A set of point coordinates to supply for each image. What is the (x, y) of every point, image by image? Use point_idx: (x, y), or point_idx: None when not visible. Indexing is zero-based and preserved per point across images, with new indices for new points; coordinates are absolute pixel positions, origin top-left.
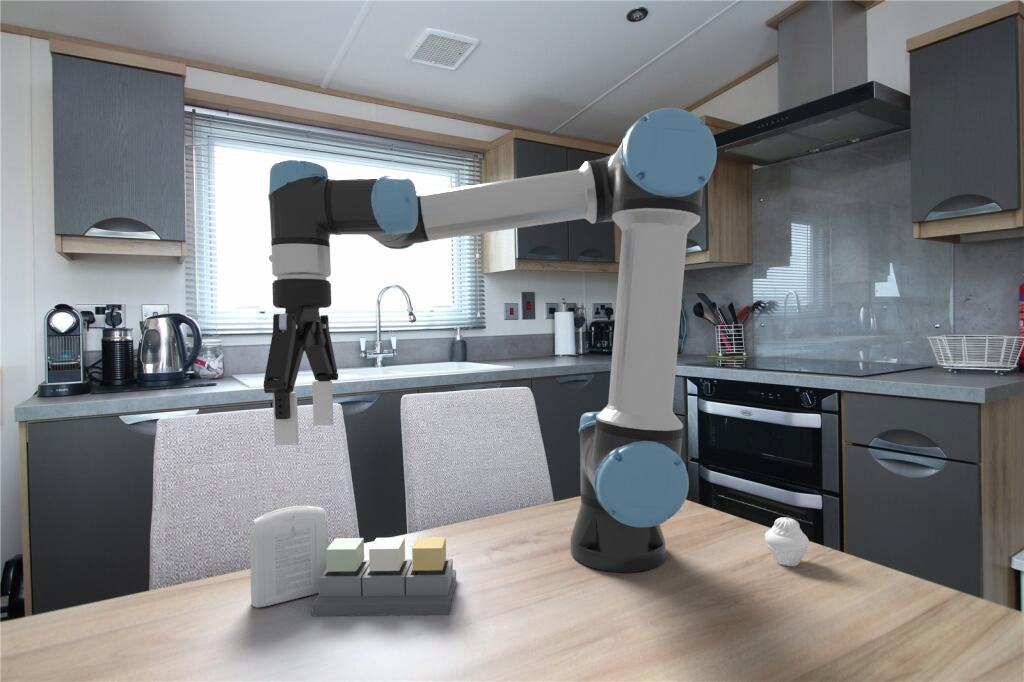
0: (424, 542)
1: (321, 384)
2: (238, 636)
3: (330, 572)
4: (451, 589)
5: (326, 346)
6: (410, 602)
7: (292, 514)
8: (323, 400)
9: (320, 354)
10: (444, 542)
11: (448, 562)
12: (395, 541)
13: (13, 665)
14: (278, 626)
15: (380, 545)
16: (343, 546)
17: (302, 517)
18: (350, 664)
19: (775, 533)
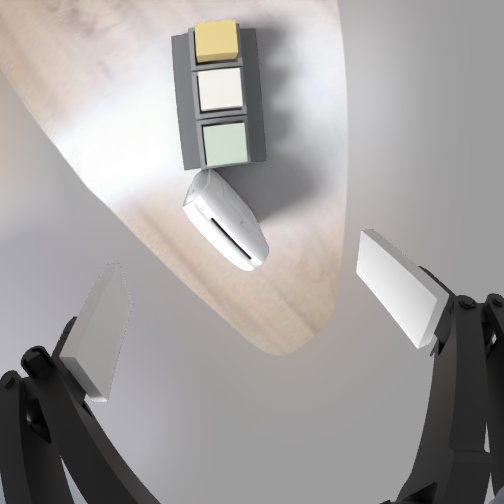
0: (216, 42)
1: (95, 373)
2: (299, 208)
3: None
4: None
5: (40, 498)
6: (256, 62)
7: (239, 225)
8: (106, 327)
9: (132, 490)
10: (209, 21)
11: None
12: (213, 79)
13: (325, 323)
14: (282, 182)
15: (229, 94)
16: (235, 142)
17: (233, 211)
18: (336, 98)
19: None
